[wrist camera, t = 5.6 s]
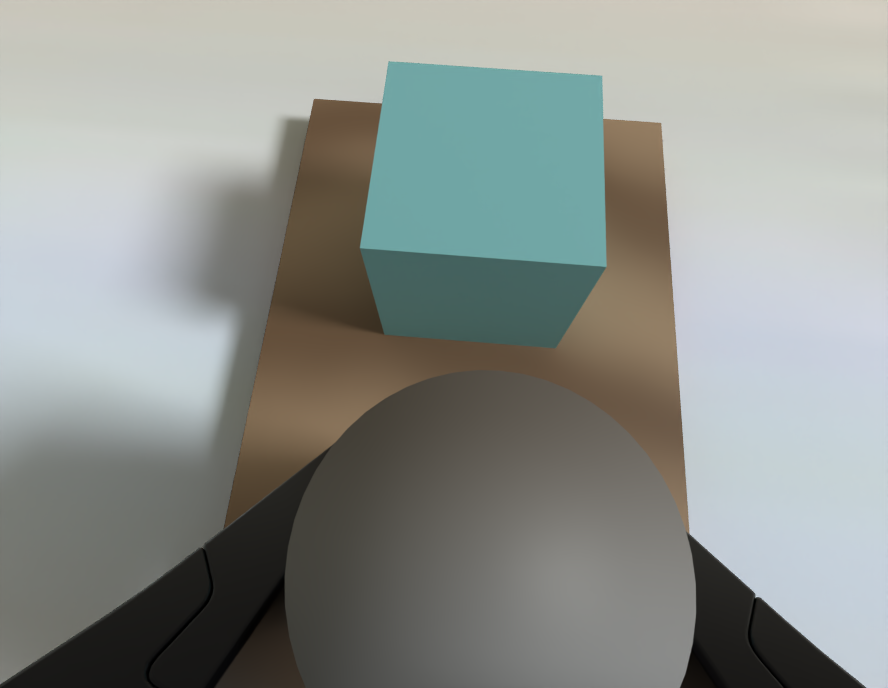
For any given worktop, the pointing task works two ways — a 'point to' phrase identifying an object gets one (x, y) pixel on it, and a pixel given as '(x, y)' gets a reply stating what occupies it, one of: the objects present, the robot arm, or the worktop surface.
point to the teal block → (485, 203)
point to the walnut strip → (375, 366)
